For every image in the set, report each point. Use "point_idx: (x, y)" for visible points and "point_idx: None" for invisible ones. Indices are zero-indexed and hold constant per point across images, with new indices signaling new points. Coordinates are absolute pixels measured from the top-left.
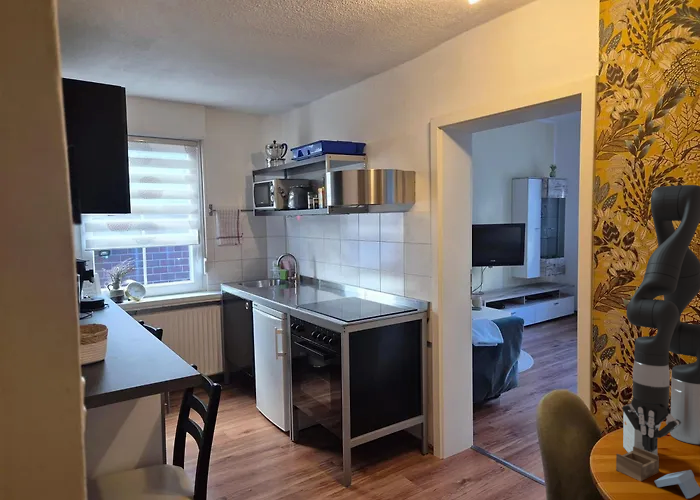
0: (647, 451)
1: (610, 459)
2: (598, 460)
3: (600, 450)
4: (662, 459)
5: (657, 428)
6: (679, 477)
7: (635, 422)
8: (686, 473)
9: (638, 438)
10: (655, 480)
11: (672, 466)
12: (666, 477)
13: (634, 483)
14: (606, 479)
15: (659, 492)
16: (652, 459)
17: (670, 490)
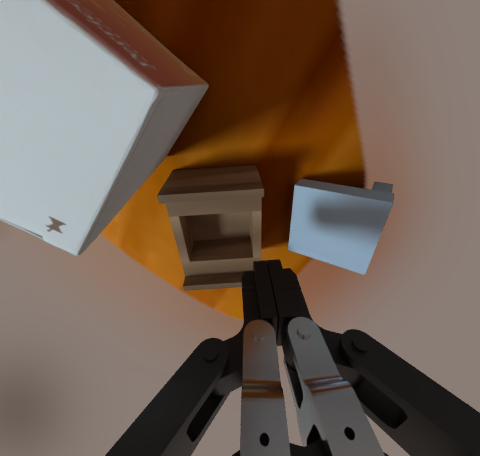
0: (181, 128)
1: (134, 217)
2: (131, 248)
3: None
4: (198, 17)
5: (328, 375)
6: (366, 267)
7: (211, 419)
8: (380, 232)
9: (142, 182)
10: (289, 247)
11: (260, 56)
12: (316, 241)
13: None
14: (213, 296)
15: (305, 256)
16: (247, 200)
17: None
